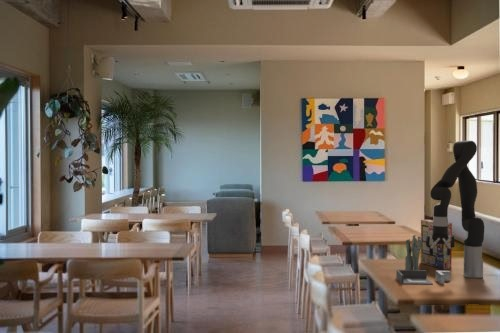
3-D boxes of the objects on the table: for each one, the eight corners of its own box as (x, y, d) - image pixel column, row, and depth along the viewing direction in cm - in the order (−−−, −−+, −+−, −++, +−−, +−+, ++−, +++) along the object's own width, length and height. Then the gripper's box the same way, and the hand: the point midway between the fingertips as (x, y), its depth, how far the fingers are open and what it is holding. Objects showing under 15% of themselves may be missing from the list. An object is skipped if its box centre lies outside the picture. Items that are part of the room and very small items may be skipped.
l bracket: (435, 279, 292) (435, 270, 292) (448, 280, 291) (449, 270, 291) (440, 284, 283) (440, 274, 283) (454, 284, 282) (454, 274, 282)
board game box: (451, 269, 318) (452, 223, 317) (443, 269, 315) (444, 223, 314) (427, 262, 337) (428, 219, 336) (419, 263, 334) (420, 219, 333)
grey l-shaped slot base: (426, 278, 294) (426, 270, 294) (432, 284, 281) (432, 275, 281) (396, 278, 295) (396, 269, 295) (401, 284, 282) (401, 275, 282)
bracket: (413, 276, 299) (414, 240, 299) (400, 274, 303) (401, 239, 302) (423, 266, 324) (423, 233, 323) (410, 265, 327) (411, 232, 326)
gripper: (451, 224, 290) (451, 254, 290) (424, 223, 291) (424, 253, 291) (456, 226, 282) (455, 256, 283) (428, 225, 283) (428, 256, 284)
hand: (439, 255), depth 287 cm, fingers open, 8 cm apart
